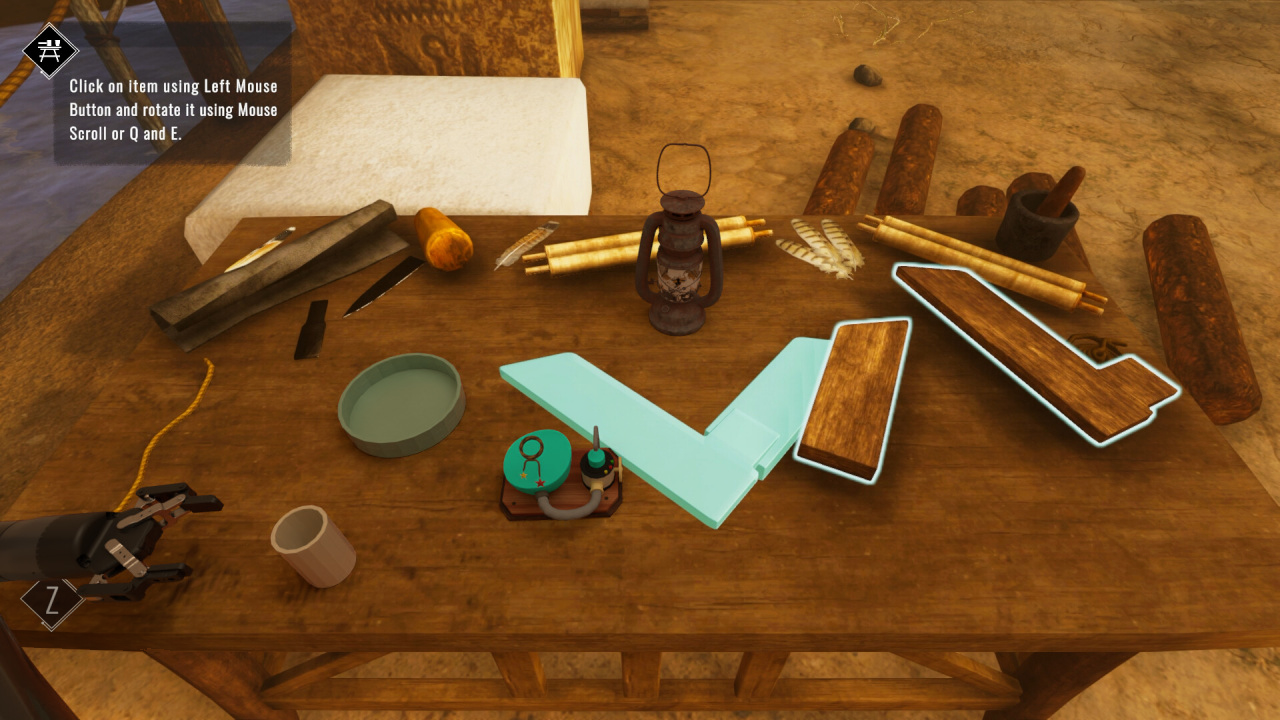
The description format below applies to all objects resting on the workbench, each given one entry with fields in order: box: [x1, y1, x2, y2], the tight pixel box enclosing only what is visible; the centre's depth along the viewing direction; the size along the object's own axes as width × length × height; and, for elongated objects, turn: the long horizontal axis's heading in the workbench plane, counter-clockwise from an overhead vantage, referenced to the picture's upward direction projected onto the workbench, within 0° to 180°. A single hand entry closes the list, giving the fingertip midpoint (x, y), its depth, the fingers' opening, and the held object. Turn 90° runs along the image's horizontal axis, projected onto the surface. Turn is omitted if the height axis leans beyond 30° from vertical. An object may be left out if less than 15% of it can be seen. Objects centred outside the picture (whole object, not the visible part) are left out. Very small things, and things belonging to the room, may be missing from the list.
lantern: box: [634, 142, 724, 337], centre depth 99 cm, size 11×16×35 cm
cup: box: [270, 504, 357, 589], centre depth 73 cm, size 6×6×10 cm
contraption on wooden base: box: [498, 425, 624, 522], centre depth 79 cm, size 14×18×15 cm
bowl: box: [337, 352, 467, 459], centre depth 94 cm, size 19×19×4 cm
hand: (205, 535), depth 69 cm, fingers open, 8 cm apart
